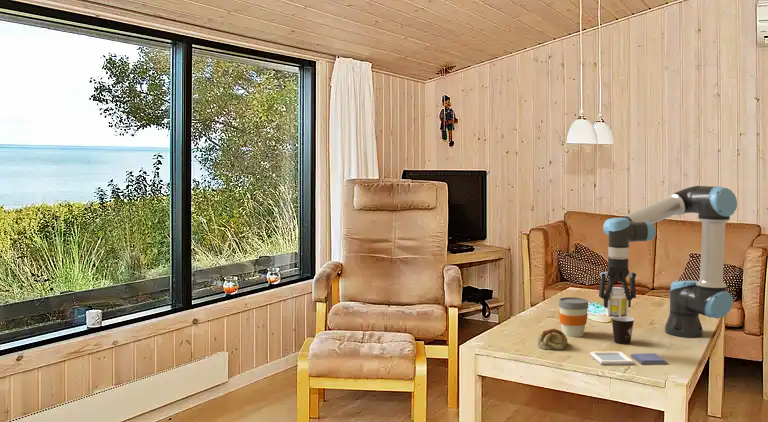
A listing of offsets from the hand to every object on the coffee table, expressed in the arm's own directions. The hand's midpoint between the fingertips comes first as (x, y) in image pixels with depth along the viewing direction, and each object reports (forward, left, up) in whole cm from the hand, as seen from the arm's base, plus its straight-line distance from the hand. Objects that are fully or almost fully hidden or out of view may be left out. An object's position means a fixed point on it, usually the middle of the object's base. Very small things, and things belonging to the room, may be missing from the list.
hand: (616, 315), depth 261 cm
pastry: (+22, -9, -15) cm, 29 cm away
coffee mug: (-10, -15, -15) cm, 23 cm away
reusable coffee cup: (+8, -28, -15) cm, 32 cm away
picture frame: (+5, +9, -15) cm, 18 cm away
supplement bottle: (0, 0, -1) cm, 1 cm away
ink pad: (-9, +10, -15) cm, 20 cm away
